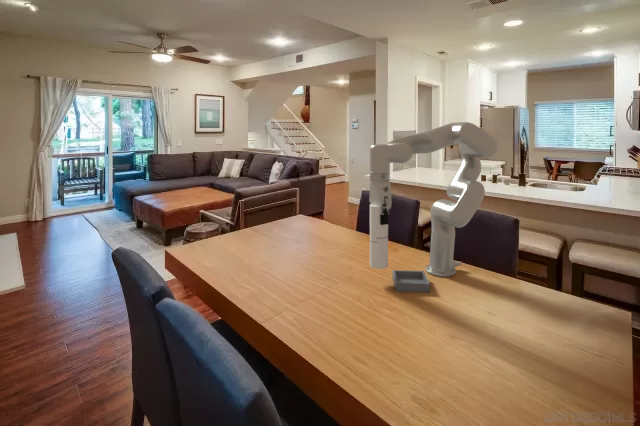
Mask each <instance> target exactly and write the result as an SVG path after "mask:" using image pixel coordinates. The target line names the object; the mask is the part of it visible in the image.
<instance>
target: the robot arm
mask: <svg viewBox="0 0 640 426" xmlns="http://www.w3.org/2000/svg"><path fill="white" fill-rule="evenodd" d="M454 145H458V150H459V154H460V160H461V162H460V166H459V167H458V169H457V171H456V173H455V174H454V176H453V177H452V179H451V180H450V182H449V184H448V185H447V188H446V194H447V195H446V196H448V197H449V198H450V199H452V200H449V199H442V198H441V199H437V200H436V201H434V202H433V203H432V205H431V208H430V211H429V212H430V221H431V235H430V250H429V251H430V253H429V264H427V265H426V266H425V272H427V274H429V275H433V276H436V277H442V278H443V277H447V278H448V277H452V276H455V275H456V273H457V270H456V267H461V266H463V262H462V261H456V260H454V253H455V241H456V240H455V239H456V229H457V228H458V229H461V228H464V227H465V226H467V224H469V223H470V221H471V220H472V218H473V217H474V215H475V213H476V212H477V210H478V209H479V207H480V206H481V203H483V200H484V198H485V195H486V194H485V192H486V191H485V186H484V184H483V183H482V182H480V181H478V179H479V177H480V175H481V173H482V163H481V158H482V159H486V158H488V159H489V158H491V157H493V156H495V154H496V153H497V152H498V148H499V145H498V141H497V139H496V138H495V137H494V136H493V135H491V134H490V133H488V132H487V131H486V130H484V129H482V128H481V127H479V126H477V125H476V124H474V123H472V122H469V121H466V122H465V121H464V122H457V121H456V122H452V123H446V124H444V125H442V126H439V127H436V128H432V129H429V130H426V131H423V132H418V133H416V134H415V133H414V134H411V135H406V136H403V137H399V138H397V139H396V138H395V139H394V140H391V141H388V142H386V143H375V144H371V146H370V148H369V182H370V184H369V197H368V202H369V205H370V204H372V205H375V206H377V207H379V208H380V210H381V215H380V224H381V225H385V224H388V225H389V215H390V211H391V209H392V203H393V202H392V187H391V185H392V184H391V181H390V180H391V179H390V178H391V176H390V175H391V164H404V163H407V162H409V161H410V160H411V159H412V157H413V155H416V154H419V155H420V154H430V153H434V152H437V151H440V150H443V149H446V148H448V147H452V146H454ZM453 200H454V201H453ZM455 201H457V202H455ZM382 205H385V206H382ZM383 208H386V209H385V210H384V211H383Z"/></svg>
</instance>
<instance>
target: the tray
mask: <svg viewBox="0 0 640 426" xmlns="http://www.w3.org/2000/svg"><path fill="white" fill-rule="evenodd" d="M392 282H393V286H394V289H395V292H400V293H401V292H403V293H404V292H405V293H407V292H408V293H430V290H431V289H430V288H431V283H430V281H429V279H428V277H427V274H426V272H425V271H424V270H401V269H400V270H399V269H397V270H396V269H393V270H392Z"/></svg>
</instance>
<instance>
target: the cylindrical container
mask: <svg viewBox="0 0 640 426" xmlns="http://www.w3.org/2000/svg"><path fill="white" fill-rule="evenodd" d="M382 206H385V205H382ZM385 209H386V208H383V211H384V210H385ZM380 215H381V210H380V208H379V207H377V206H375V205H372V204H370V203H369V266H370V268H372V269H376V270H377V269H378V270H382V269H386V268H387V267H389V266H388V265H389V223H388V224H385V225H381V224H380Z"/></svg>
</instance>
